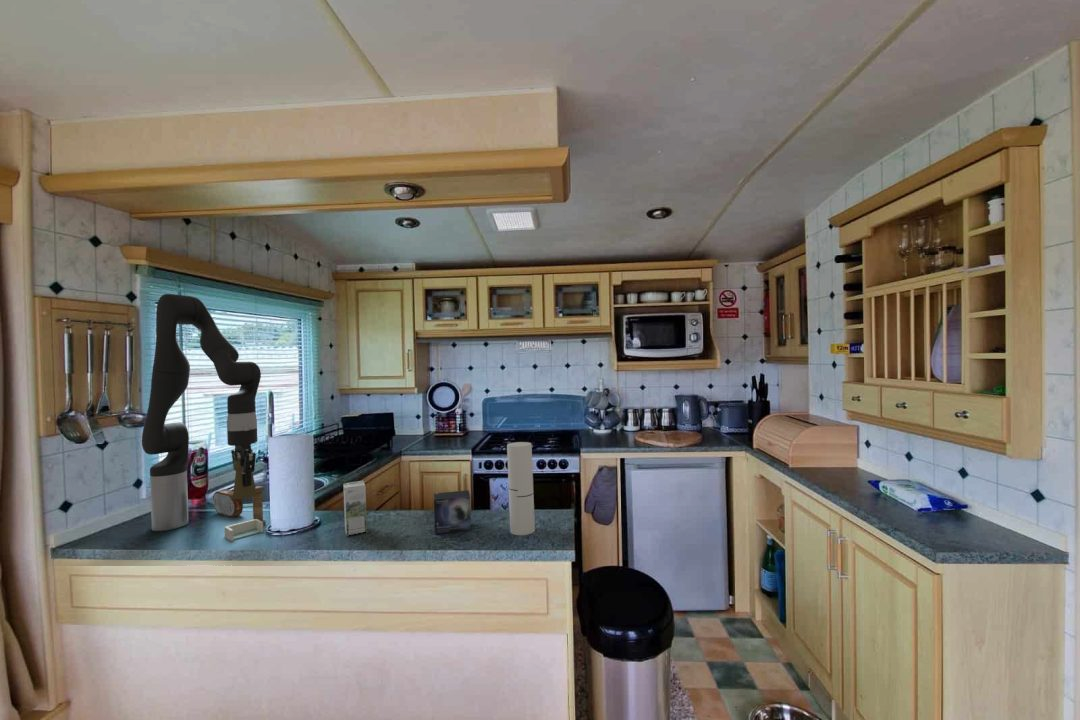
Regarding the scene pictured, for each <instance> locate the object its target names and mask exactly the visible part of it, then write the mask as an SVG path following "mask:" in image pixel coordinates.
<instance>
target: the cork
mask: <svg viewBox="0 0 1080 720" xmlns="http://www.w3.org/2000/svg"><path fill="white" fill-rule="evenodd" d="M242 463H244V462H242ZM232 467H233V470H234V471H235V476H234V485H233V491H234V492H233V498H234V499H248V498H253V496H255V495H256V494H257V493H256V488H255V487H256V483H255V478H254V474H253V473H254V472H252V473H251V483H252V484H251V486H248V487H243V484H242V471H241V469H242V467H240V466H239V463H238V460H237V461H235V462H234V465H233V464H232ZM247 468H249V466H247Z"/></svg>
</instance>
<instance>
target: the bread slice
mask: <svg viewBox="0 0 1080 720" xmlns="http://www.w3.org/2000/svg"><path fill="white" fill-rule="evenodd" d="M233 492H234V490H230V489H226V488H222V489H221V490H217V491H214V493H213V496H212V498H213V499H212V500H213V508H214V510H215V512H217V514H219V515H221V516H225V517H228V518H234V517H237V516H240V515H241V514H243V510H244V504H243V500H242V499H243V498H242V499H234V498H233Z"/></svg>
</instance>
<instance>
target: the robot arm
mask: <svg viewBox="0 0 1080 720" xmlns="http://www.w3.org/2000/svg"><path fill="white" fill-rule="evenodd" d="M155 310H156V311H155V312H156V313H155V315H156V317H155V321H156V322H155V323H156V324H155V327H156V328H155V329H156V331H155V347H154V357H153V358H154V359H153V365H152V371H151V378H150V379H151V381H150V393H149V399H148V400H149V403H148V408H147V412H146V416H145V420H144V425H143V430H142V434H141V446H142V449H143V451H144V453H145V454H147V455H151V456H152V455H159V454H166V453H167V455H166V457H164V458H163V459H162V460H160V461H158V462H157V463H155V464H153V465H152V466H151V467H150V468H149V482H150V510H151V511H150V512H151V513H150V514H151V515H150V516H151V517H150V518H151V531H153V532H163V531H169V530H174V529H178V528H181V527H184V526H186V525H188V524H189V499H188V497H189V496H188V493H189V491H188V470H187V469H188V468H187V467H188V463H189V447H190V446H189V445H190V444H189V443H190V435H189V430H188V428H187V426H186V424H184V423H182V422H170V423H166V420H167V419H166V418H167V417H168V413H169V412H170V410H171V409H172V407H173V406H174V405H175V404H176V402H177V401H178V400H179V399H180V398H181V396H182V395H183V394H184V392H185V391H186V389H187V388H188V385H189V380H190V374H191V373H190V371H191V365H190V362H189V359H188V358H187V356H186V354H185V352H184V351H183V350H182V348H181V345H180V344H179V341H178V337H177V335H178V334H177V327H178V325H187V326H189V325H192V326H193V327H195V328H196V329H198V331H199V332H200V335H199V336H200V337H199V345H200V346H199V347H200V348H201V350H202V352H203V353H204V354H205V355H206V356H207V357H208V359H209V360H210V361H211V362H212V364H213V365H214V369H215V371H216V373H217V374H216V375H217V377H218V379H219V381H220V382H222V383H224V384H225V385H227V386H240V388H239V389H238V391H237V392H235V393H231V394H229V395H228V396H227V399H226V401H227V403H226V404H227V419H226V429H227V430H226V432H227V433H226V435H227V445H228V446H232V447H234V449H231V451H230V453H231V458H232V466H233V465H234V462H235V461H237V460H238V463H239V466H240V467H242V469H241V471H242V484H243V487H248V486H251V484H252V483H251V473H252V472H253V473H254V472H255V470H256V469H255V466H256V456H257V453H256V452H254V451H253V449H252V444H256V443H258V441H259V440H258V439H259V438H258V418H257V414H256V412H257V411H256V397H257V394H258V389H259V385H260V382H261V377H262V373H261V369H260V366H259V365H258V364H257V363H256V362H254V361H238V360H239V357H240V356H239V352H238V350H237V349H236V348H235V346H233V345H232V343H231V342H230V341H229V340H228V339H227V338H226V337H225V336H224V335H223V333H222V332H221V331H220V329H219V327H218V325H217V324H216V322H215V320H214V318H213V317H212V315H211V314H210V311H209V310H208V308H207V307H206V305H205V304H204V302H203V301H202V300H201V299H199V298H198V297H195V296H191V295H183V294H175V293H174V294H173V293H164V294H162V295H161V296H160V297H159V299H158V301H157V304H156V309H155ZM242 462H244V463H242ZM247 466H249V468H247Z"/></svg>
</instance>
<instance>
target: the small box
mask: <svg viewBox="0 0 1080 720" xmlns="http://www.w3.org/2000/svg"><path fill="white" fill-rule="evenodd" d="M470 495H471V494H470V491H469V490H468V489H467V490H458V491H446V492H435V493H433V511H434V512H433V516H434V520H433V521H434V535H445V534H453V533H461V532H471V531H472V519H471V496H470Z"/></svg>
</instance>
